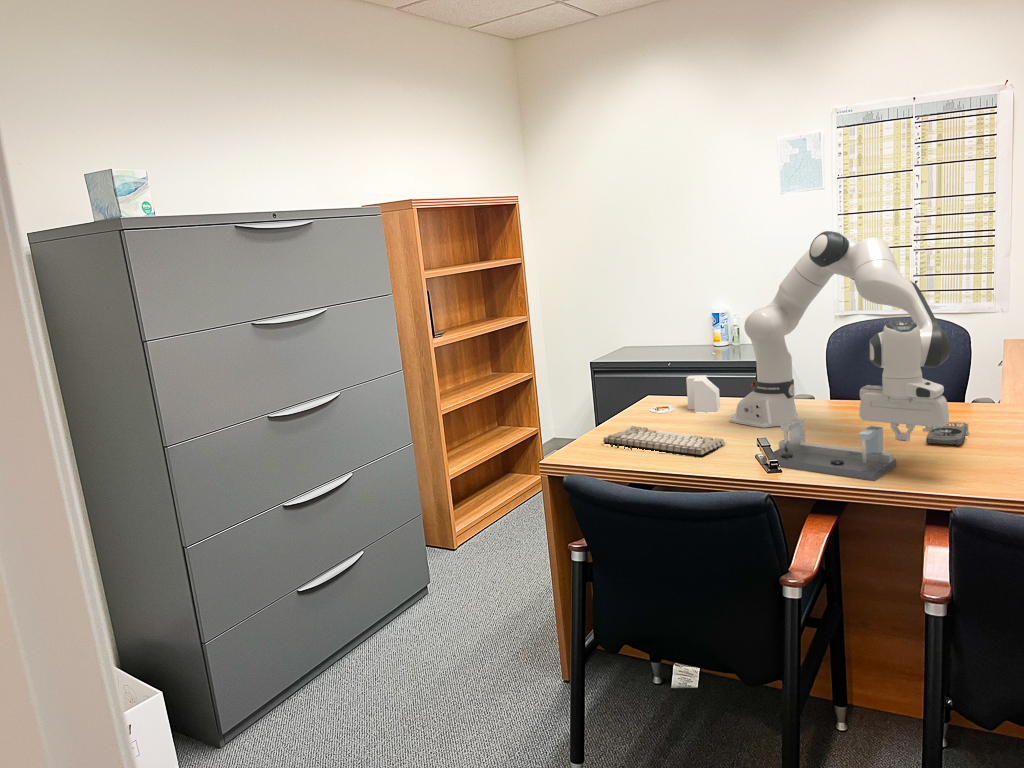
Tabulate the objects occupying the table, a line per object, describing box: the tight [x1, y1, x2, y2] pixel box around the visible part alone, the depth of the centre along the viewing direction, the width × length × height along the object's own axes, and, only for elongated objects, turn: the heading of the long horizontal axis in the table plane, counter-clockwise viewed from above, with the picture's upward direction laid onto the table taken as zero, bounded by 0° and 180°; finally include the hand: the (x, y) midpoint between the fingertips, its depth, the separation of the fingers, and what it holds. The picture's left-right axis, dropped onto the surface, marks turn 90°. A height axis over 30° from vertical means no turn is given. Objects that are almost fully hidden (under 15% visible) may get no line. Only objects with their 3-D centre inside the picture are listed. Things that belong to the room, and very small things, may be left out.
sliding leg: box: [858, 425, 884, 463], centre depth 192 cm, size 3×8×8 cm, turn 133°
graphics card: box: [922, 421, 970, 446], centre depth 213 cm, size 17×4×12 cm
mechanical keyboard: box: [602, 425, 726, 459], centre depth 238 cm, size 38×19×3 cm, turn 47°
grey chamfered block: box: [685, 374, 721, 413], centre depth 277 cm, size 11×11×12 cm
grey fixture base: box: [762, 418, 897, 482], centre depth 200 cm, size 30×14×11 cm, turn 43°
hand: (902, 440), depth 189 cm, fingers closed
